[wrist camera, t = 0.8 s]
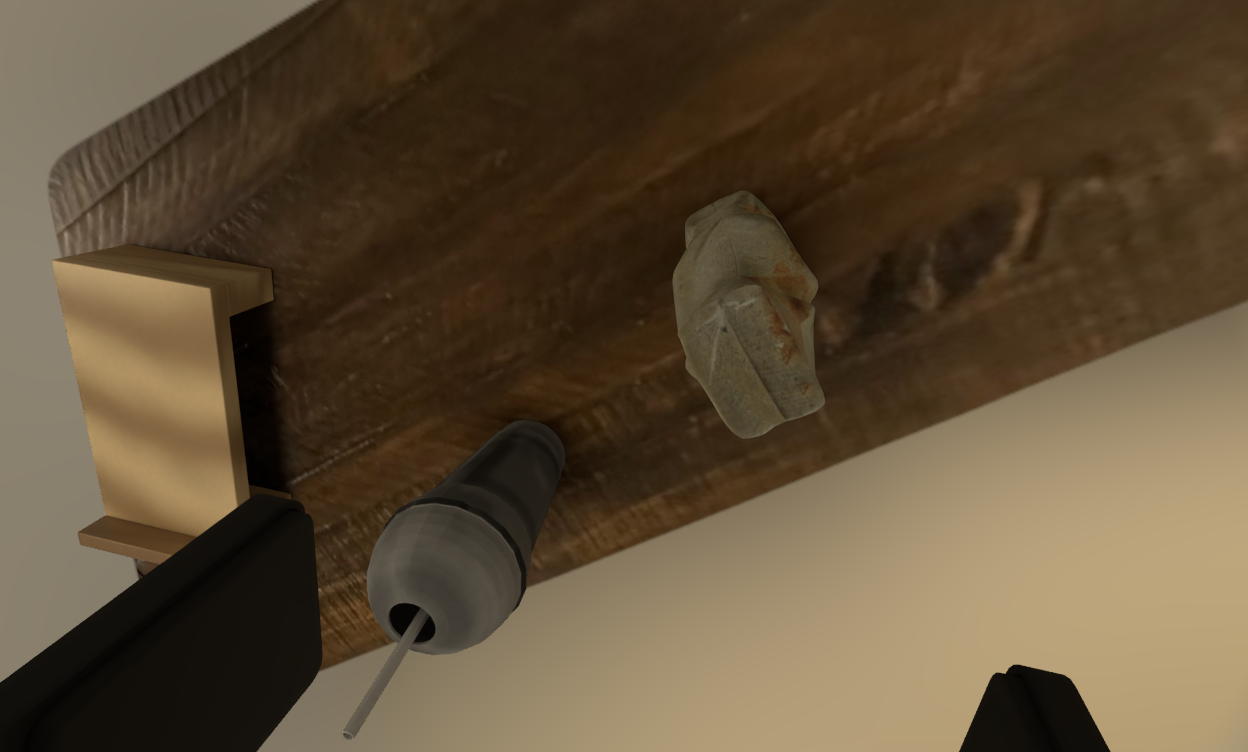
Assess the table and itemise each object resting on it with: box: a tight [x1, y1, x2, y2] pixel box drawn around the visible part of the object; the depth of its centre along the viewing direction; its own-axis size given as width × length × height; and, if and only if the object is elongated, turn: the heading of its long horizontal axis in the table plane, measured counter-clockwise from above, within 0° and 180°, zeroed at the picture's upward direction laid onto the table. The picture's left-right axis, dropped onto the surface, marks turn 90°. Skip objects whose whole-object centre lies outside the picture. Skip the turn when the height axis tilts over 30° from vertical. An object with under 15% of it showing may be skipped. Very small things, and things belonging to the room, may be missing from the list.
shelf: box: [52, 244, 291, 564], centre depth 42 cm, size 18×10×7 cm, turn 173°
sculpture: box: [673, 190, 825, 438], centre depth 28 cm, size 6×7×15 cm
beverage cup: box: [341, 420, 565, 741], centre depth 33 cm, size 7×7×20 cm
